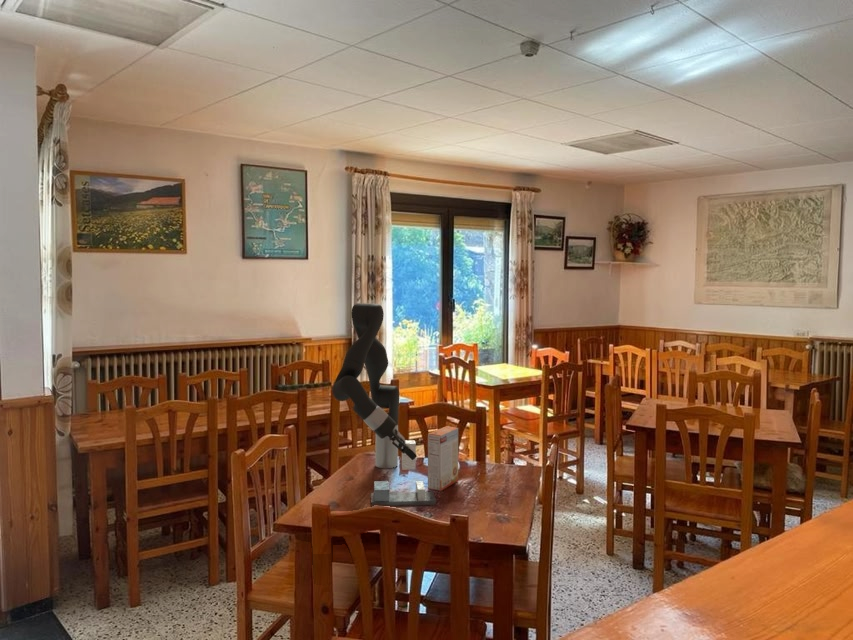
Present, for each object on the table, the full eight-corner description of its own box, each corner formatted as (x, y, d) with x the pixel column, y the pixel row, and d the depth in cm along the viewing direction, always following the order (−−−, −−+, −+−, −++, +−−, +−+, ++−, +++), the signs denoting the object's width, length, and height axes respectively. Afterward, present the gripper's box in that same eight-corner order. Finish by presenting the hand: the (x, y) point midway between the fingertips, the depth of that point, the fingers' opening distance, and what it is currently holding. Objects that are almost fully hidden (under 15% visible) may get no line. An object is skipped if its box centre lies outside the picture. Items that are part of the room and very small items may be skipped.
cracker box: (444, 478, 245) (445, 425, 243) (458, 481, 241) (459, 427, 240) (426, 488, 233) (426, 432, 231) (440, 491, 229) (441, 435, 228)
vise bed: (371, 497, 223) (371, 482, 222) (433, 495, 225) (433, 480, 225) (371, 506, 214) (371, 490, 213) (436, 504, 216) (436, 489, 216)
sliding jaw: (373, 492, 223) (374, 481, 222) (388, 492, 223) (388, 481, 223) (374, 501, 214) (374, 489, 214) (389, 501, 214) (389, 489, 214)
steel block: (401, 465, 221) (401, 440, 220) (414, 465, 221) (414, 440, 221) (402, 469, 216) (402, 443, 216) (415, 469, 217) (415, 443, 216)
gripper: (388, 418, 210) (424, 454, 212) (386, 409, 224) (420, 442, 226) (372, 434, 210) (408, 469, 212) (371, 424, 224) (405, 457, 226)
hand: (414, 455), depth 219 cm, fingers closed on steel block, 4 cm apart
